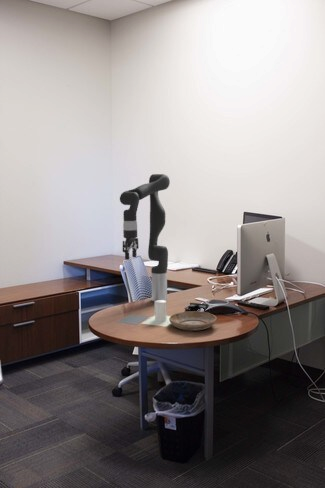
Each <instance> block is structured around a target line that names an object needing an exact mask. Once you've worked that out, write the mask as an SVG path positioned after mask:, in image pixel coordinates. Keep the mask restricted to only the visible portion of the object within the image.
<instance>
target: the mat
mask: <svg viewBox="0 0 325 488" xmlns="http://www.w3.org/2000/svg"><path fill="white" fill-rule="evenodd" d="M149 318H151V316H147V315H140V314H139V315H138V314H131V313H130V314H128V315H127V316H125V317H123V318H121V319H120V320H118V321H116V322H115V323H118V324H124V325H125V324H126V325H133V326H138V325H139V324H141V323H143V322H144V321H146V320H148V319H149Z"/></svg>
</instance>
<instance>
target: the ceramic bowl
mask: <svg viewBox="0 0 325 488" xmlns="http://www.w3.org/2000/svg"><path fill="white" fill-rule="evenodd" d="M189 311H190V310H189ZM170 316H171V317H170V318H169V321H170V323H171V324H170V325H172V326H173V327H175V328H177V329H179V330H184V331H203V330H206V329H209V328H211V327H213V326H214V325H215V324H216V322H217V316H216V315H214V314H212V313H210V312H209V313H206V312H197V311H190V312H188V311H182V312H177V313H174V314H172V315H170Z"/></svg>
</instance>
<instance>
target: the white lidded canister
mask: <svg viewBox="0 0 325 488" xmlns="http://www.w3.org/2000/svg"><path fill="white" fill-rule="evenodd" d="M154 315H155V321H157V322H164V321H166V320H167V316H168V313H167V301H165V300H156V301H155V302H154Z"/></svg>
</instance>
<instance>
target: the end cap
mask: <svg viewBox="0 0 325 488" xmlns="http://www.w3.org/2000/svg"><path fill="white" fill-rule="evenodd" d="M208 307H209V308H210V305H209V304H208V303H199V302H198V303H197V302H190V303H189V306H188V308H187V309H188V311H187V312H190V311H197V310H198V309H200V308H203V309H204V311H205V310H206V309H207V308H208ZM205 312H206V313H210V311H209V312H208V311H205Z"/></svg>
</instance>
